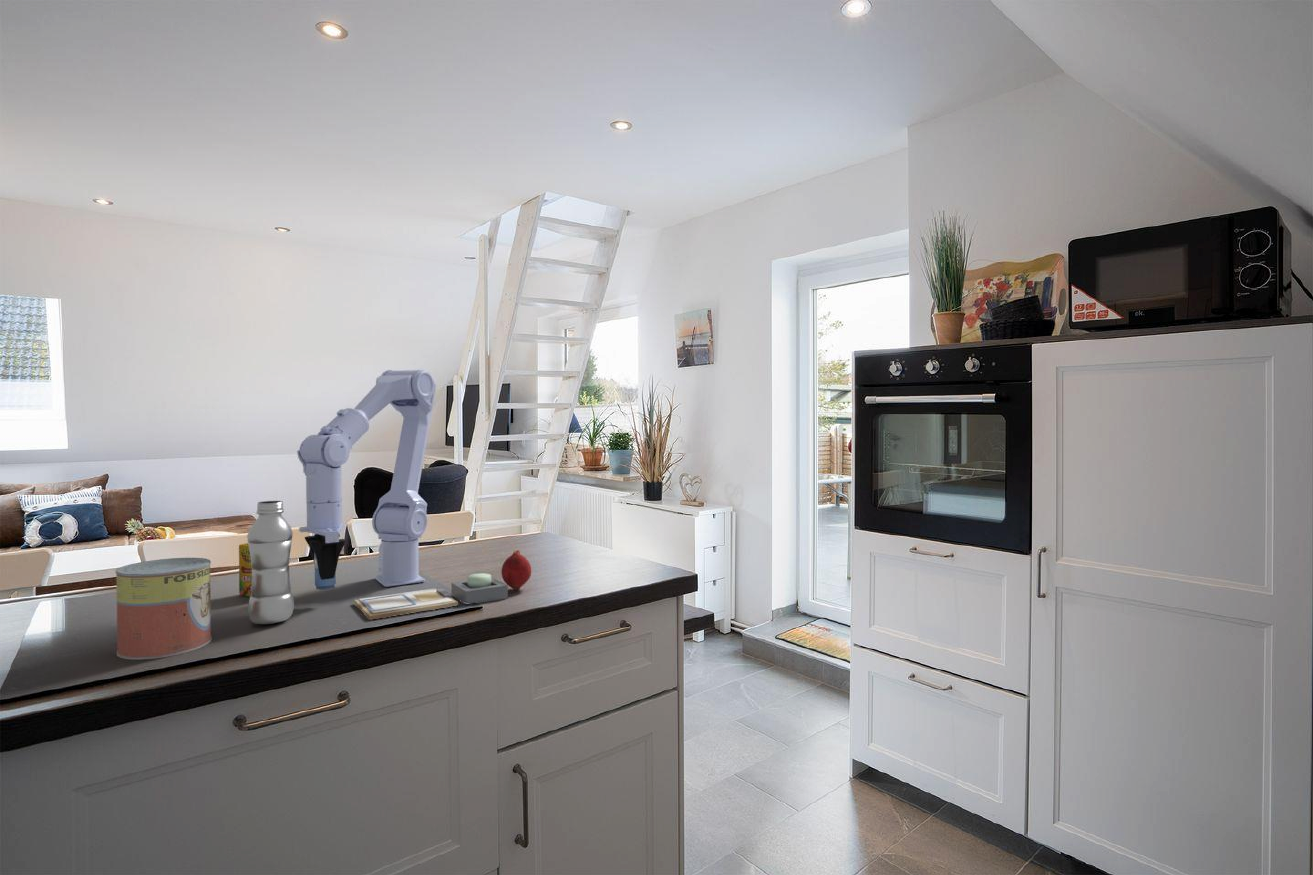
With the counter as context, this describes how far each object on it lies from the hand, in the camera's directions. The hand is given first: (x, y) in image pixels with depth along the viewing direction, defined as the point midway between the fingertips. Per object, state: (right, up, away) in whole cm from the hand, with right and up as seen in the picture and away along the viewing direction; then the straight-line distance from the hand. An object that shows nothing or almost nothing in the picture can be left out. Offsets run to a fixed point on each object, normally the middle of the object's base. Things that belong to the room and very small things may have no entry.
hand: (325, 576), depth 120 cm
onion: (+32, -5, +12) cm, 35 cm away
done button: (+26, -3, +6) cm, 27 cm away
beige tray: (+14, -5, +1) cm, 15 cm away
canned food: (-13, -6, -22) cm, 26 cm away
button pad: (+26, -5, +7) cm, 27 cm away
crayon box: (-16, -5, +6) cm, 18 cm away
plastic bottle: (-4, -6, -10) cm, 12 cm away
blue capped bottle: (0, -2, 0) cm, 2 cm away
